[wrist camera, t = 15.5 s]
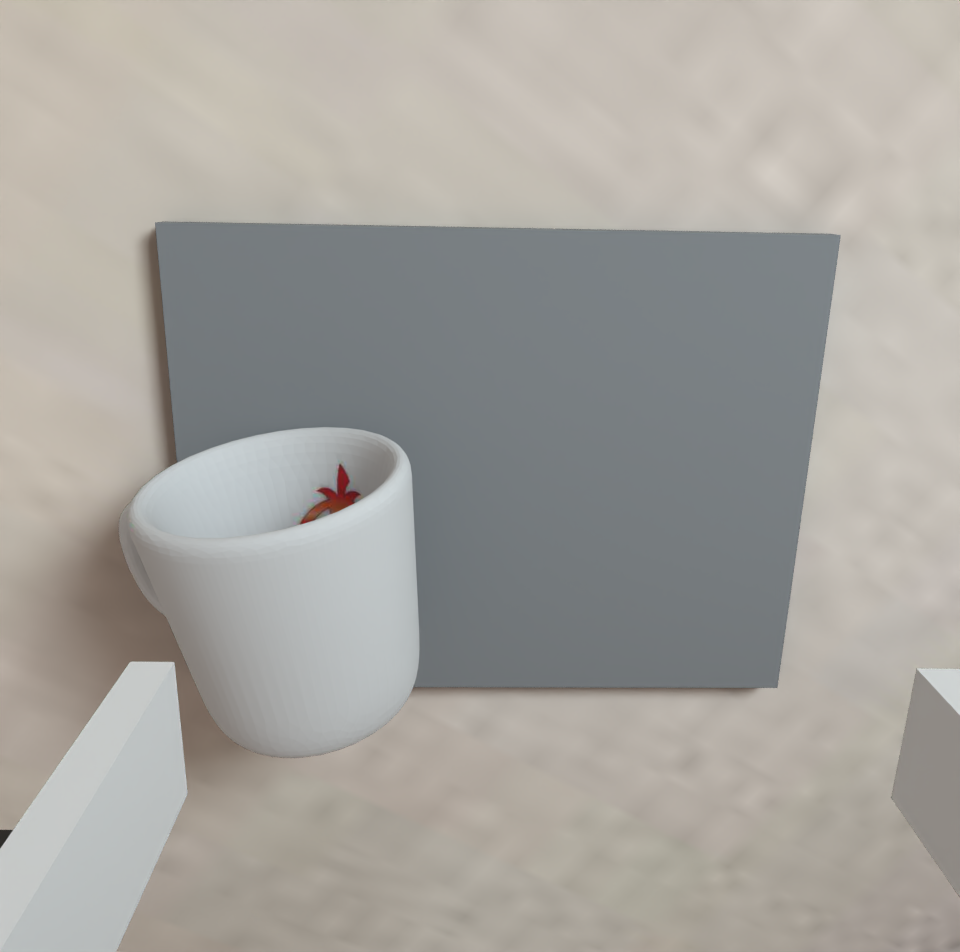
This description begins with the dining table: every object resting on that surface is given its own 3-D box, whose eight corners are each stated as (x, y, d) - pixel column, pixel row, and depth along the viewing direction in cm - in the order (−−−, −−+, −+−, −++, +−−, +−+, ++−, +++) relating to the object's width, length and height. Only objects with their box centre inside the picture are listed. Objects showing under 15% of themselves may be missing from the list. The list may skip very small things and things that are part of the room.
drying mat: (830, 233, 28) (840, 235, 28) (769, 676, 33) (777, 687, 33) (163, 221, 28) (155, 222, 27) (203, 675, 33) (197, 686, 32)
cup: (77, 731, 29) (-5, 508, 25) (244, 602, 35) (196, 411, 32) (349, 827, 24) (289, 565, 20) (488, 657, 30) (459, 435, 27)
